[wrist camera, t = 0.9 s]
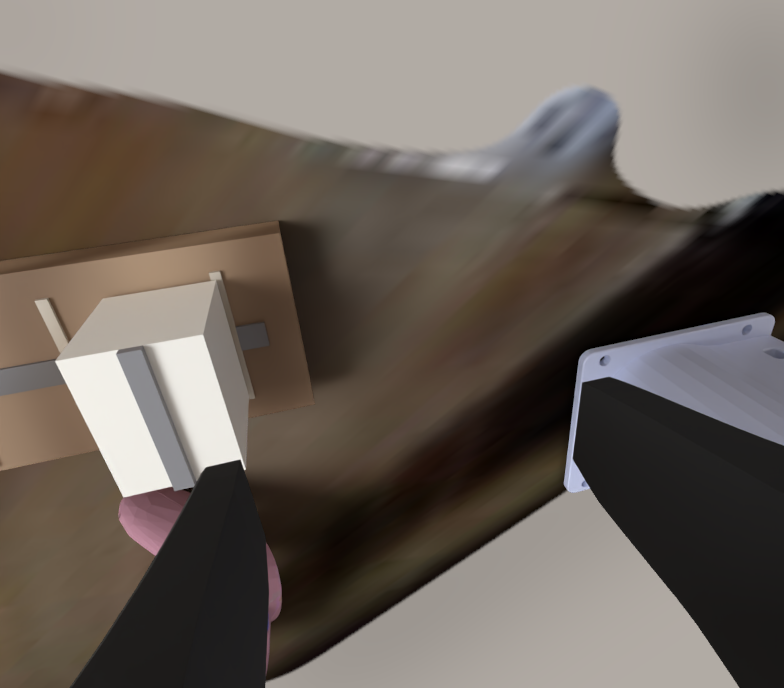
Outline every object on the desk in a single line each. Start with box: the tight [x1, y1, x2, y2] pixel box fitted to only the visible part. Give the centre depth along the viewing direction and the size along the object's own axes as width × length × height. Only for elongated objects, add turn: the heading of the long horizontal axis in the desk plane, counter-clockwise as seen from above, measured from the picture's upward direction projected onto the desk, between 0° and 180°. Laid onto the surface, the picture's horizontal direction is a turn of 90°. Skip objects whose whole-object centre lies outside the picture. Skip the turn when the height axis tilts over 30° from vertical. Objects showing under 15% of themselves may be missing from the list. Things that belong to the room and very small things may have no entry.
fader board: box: [0, 221, 315, 471], centre depth 14 cm, size 13×6×2 cm, turn 95°
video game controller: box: [119, 487, 282, 672], centre depth 18 cm, size 10×5×7 cm, turn 164°
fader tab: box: [55, 280, 249, 497], centre depth 13 cm, size 3×4×4 cm
